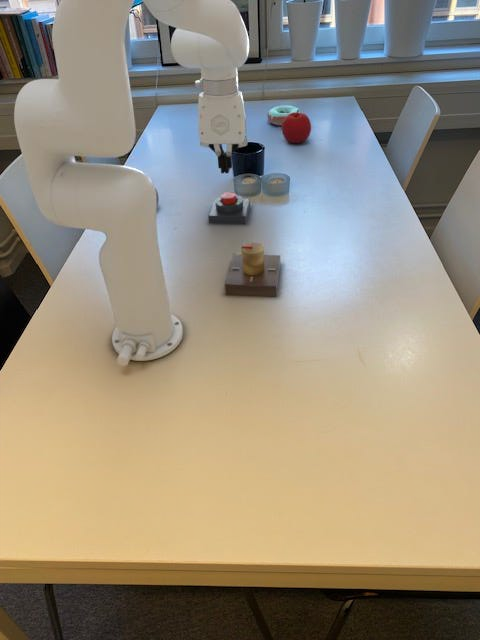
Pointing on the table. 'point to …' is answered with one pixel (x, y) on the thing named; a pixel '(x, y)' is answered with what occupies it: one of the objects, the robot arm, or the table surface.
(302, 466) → the table surface
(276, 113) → the donut
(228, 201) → the button
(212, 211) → the button block
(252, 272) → the knob
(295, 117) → the apple
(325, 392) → the table surface
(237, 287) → the panel
